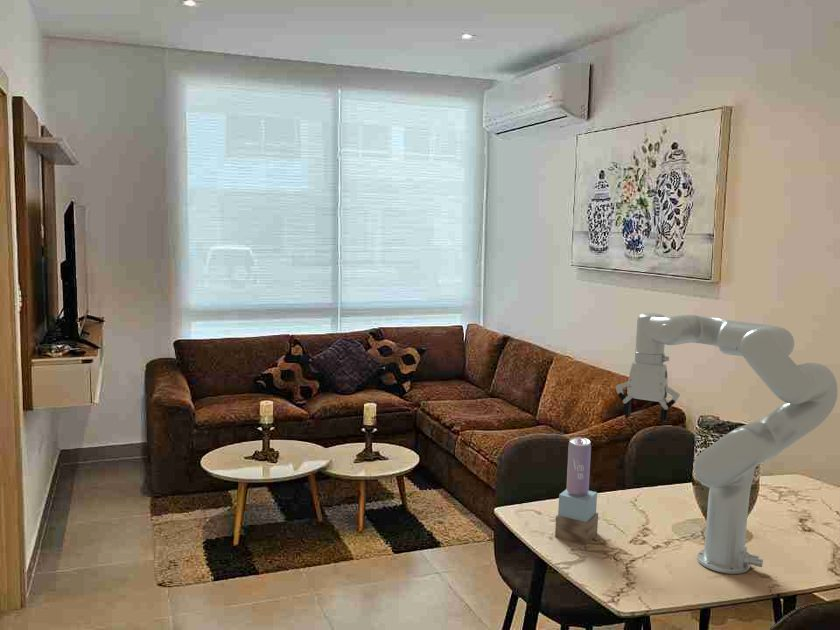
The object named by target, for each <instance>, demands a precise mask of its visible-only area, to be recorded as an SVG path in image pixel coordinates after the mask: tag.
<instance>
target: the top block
mask: <svg viewBox="0 0 840 630" xmlns="http://www.w3.org/2000/svg"><path fill="white" fill-rule="evenodd" d="M597 500H598V492H597V491H592V490H589V492H588V493H587V494H586V495H585V496H573V495H570V494H569V493H568V492H567V489H566V488H565V489H564V491H562V492H561V493H559V495H558V508H557V510H558V511H557V513H558V514H557V515H558V516H561V517H565V518H570V519H574V520H578V521H582V522H587V521H588V520H589V519H590V518H591V517H592V516H594V515H595V514H596V513H597V506H598V504H597Z"/></svg>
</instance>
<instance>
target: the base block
mask: <svg viewBox="0 0 840 630" xmlns="http://www.w3.org/2000/svg"><path fill="white" fill-rule="evenodd" d="M598 522H599V512H596V514H595V515H594V516H592V517H591V518H590V519H589V520H588V521H587V522H582V521H578V520H574V519H570V518H565V517H561V516H558V514H557V515H556V516H555V527H554V528H555V532H554V537H555V538H558V539H562V540H566V541H569V542H570V541H571V542H575V543H580V544H583V545H585V546H586V545H588V544H589V543H590V542H591V541H592V540H593V539H594V537H596V535H597V534H598V528H599V527H598V525H599V523H598Z"/></svg>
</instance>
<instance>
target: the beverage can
mask: <svg viewBox="0 0 840 630" xmlns="http://www.w3.org/2000/svg"><path fill="white" fill-rule="evenodd" d="M591 443H592V442H591V441H590V439H588V438H586V437H580V436H578V437H572V438H570V439H569V442H568V446H567V447H568V449H567V450H568V451H567V470H566V472H567V473H566V488H565V490H566V489H567V492H568V493H569V494H570V495H573V496H585V495H586V494H587V493H588V492H589V491H590V490H589V489H590V470H591V455H592V454H591V453H592V445H591Z"/></svg>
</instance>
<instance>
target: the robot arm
mask: <svg viewBox="0 0 840 630" xmlns="http://www.w3.org/2000/svg"><path fill="white" fill-rule="evenodd" d="M635 335H636V337H635V353H634V360H633V361H632V362H631V366H630V370H629V374H628V381H625V382H623V383H620V384H617V385H615V391H616V393H617V395H618V397H619V399H620V400H621V401H622V403H623V414H624V415H625V416H624V418H626V419H628V418H630V417H631V413H632V402H631V400H632V399H637V400H642V401H643V400H644V401H650V402H658V403H659V404H660V405H661V407H662V408H661V410H660V422H659V423H660V424H662V425H663V424H664V423H665V422H666V421H668V418H669V408H671V407H672V406H674V405H675V404H676V402H677V401H678V399H679V398H680V396H681V394H680V393H679V392H678V391H676V390H674V389H672V388H671V387H670V386H668V383H669V382H668V380H669V379H668V367H667V364H665V362H669V361H670V356H667V355H666V354H665V346H678V345H683V344H689V343H693V344H694V343H695V344H701V345H702V344H703V345H708V346H714V347H718V348H719V351H720V352H721V353H722V354H725V355H728V356H729V355H730V356H736V357H743V358H744V359H745V361H746V363H748V366H750V367H751V369H752V370H753V371H754V373H756V375H757V376H758V377H759V378H760V379H761V381H762V382H763V383H764V384H765V385H766V386H767V388H768V389H769V390H770V391H771V392H772V393H773V395H775V396H776V397H777V398H778V399H780V400H781V401H783V402H784V403H783V404H781V405H780V406H778V407H777V408H776V409H774V410H773V411H772V412H770V413H769V414H767V415H766V416H763V417H762V418H761V419H759V420H757V421H753V422H751V423H748V424H744V425H741V426H739V427H736V428H734V429H732V430H731V431H729V432H728V433H726V434H724V435H723V436H722V437H721V438H720V439H718V440H717V441H715V442H714V443H712V444H711V445H709V446H708V447H707V448H705V449H704V450H702V451H701V452H700V453H699V454H698V455H697V456H696V458H695V461H694V465H693V470H694V474H695V477H696V479H697V481H699V482H700V483H701V484H702V485H703V486H705V487H708V488H709V491H708V497H707V498H708V500H707V501H708V502H707V509H706V511H707V513H706V521H705V522H706V523H705V524H706V525H705V537H704V549H702V550H699V551H698V553H697V558H696V559H697V561H698V562H699V564H701V565H702V566H703V567H705V568H707V569H709V570H711V571H715V572H717V573H718V572H719V573H723V574H730V575H732V574H733V575H738V574H745V573H746V572H748V571H749V570H750V568H751V565H752V566H754V567H757V568H758V567H759V568H763V566H764V565H763V564H764V559H762V558H760V556H759V555H757V554H750V552H748V546H746V539H747V538H746V537H747V524H748V515H749V504H750V497H751V496H750V494H751V488H752V484H753V479H754V475H755V472H756V467H757V466H759V465H761V464H764V463H766V462H768V461H771V460H773V459H774V458H776V457H777V456H779V455H780V454H781V453H782V452H783V451H784V450H785V451H786V449H788V448H790V447H791V446H792V445H794V444H795V443H797V442H798V441H800V440H801V439H802V438H803V437H805V436H806V435H808V434H809V433H811V432H812V431H815V429H816V428H817V427H819V426H820V425H821V424H822V423H824V422H825V420H827V418H828V417H829V416H830V415H831V413H832V412H833V410H834V408H835V405H836V403H837V399H838V393H839V392H838V390H839V389H838V383H837V380H836V379H837V378H836V376H835V375H834V373H833V372H832V370H831V369H830V368H829V367H827V366H825V365H823V364H820V363H816V362H806V363H801V364H796V363H795V361H794V360H793V359H792V358H791V357H790V355H791V354H792V352H793V351H794V348H795V340H794V339H795V338H794V336H793V335H792V333H791V332H790V331H789V330H788V329H786V328H784V327H781V326H777V325H773V324H772V325H770V324H763V323H762V324H761V323H754V322H753V323H752V322H745V321H736V320H731V319H724V318H719V317H712V316H706V315H705V316H704V315H695V314H684V315H673V316H665V315H663V314H661V313H660V314H659V313H656V312H655V313H652V312H651V313H650V312H643V313H640V314H639V315H638V316H637V319H636V334H635ZM624 388H626V389H627V395H626V394H625V393H624V391H623V389H624ZM668 394H669V395H670V396H671V397H672V398H671V399H670V401H668V400H667V398H668Z"/></svg>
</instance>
